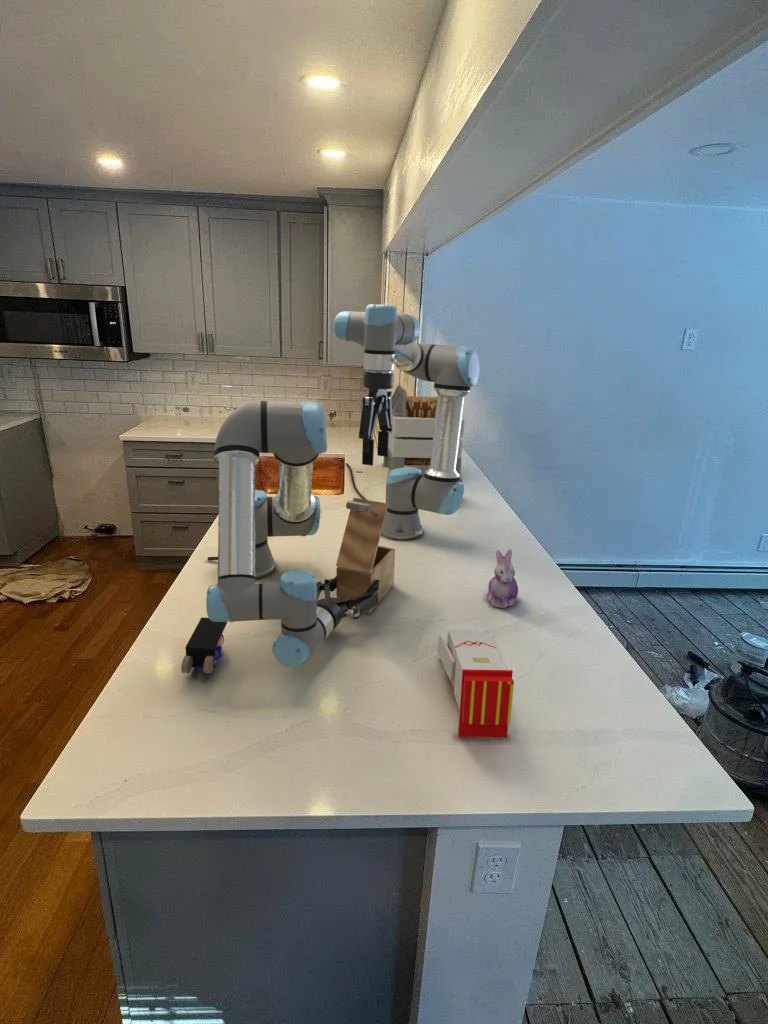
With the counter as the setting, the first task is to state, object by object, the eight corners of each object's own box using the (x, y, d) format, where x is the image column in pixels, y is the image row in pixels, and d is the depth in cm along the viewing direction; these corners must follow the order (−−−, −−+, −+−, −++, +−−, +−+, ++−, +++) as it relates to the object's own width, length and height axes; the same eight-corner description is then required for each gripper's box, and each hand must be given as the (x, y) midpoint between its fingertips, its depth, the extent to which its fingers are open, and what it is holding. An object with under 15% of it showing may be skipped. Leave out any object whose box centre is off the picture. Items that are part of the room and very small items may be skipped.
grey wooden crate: (382, 463, 289) (386, 382, 275) (445, 464, 293) (451, 384, 279) (390, 482, 257) (394, 392, 243) (460, 483, 261) (468, 394, 247)
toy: (488, 613, 130) (523, 677, 101) (484, 667, 133) (517, 744, 104) (435, 612, 130) (455, 676, 101) (432, 666, 133) (451, 743, 103)
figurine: (500, 612, 150) (506, 561, 145) (477, 595, 159) (482, 546, 153) (527, 605, 154) (535, 555, 149) (504, 589, 163) (510, 541, 158)
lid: (354, 498, 150) (343, 489, 142) (388, 504, 147) (378, 495, 139) (337, 566, 146) (324, 561, 139) (371, 574, 143) (360, 568, 135)
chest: (363, 577, 166) (363, 542, 161) (393, 583, 162) (395, 548, 158) (336, 605, 150) (336, 568, 146) (369, 613, 147) (370, 575, 143)
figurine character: (214, 689, 118) (231, 642, 131) (211, 660, 114) (228, 615, 128) (182, 688, 118) (201, 641, 131) (177, 659, 114) (198, 614, 128)
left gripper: (278, 623, 135) (322, 584, 155) (364, 645, 128) (398, 602, 147) (278, 595, 133) (322, 559, 152) (365, 616, 125) (399, 576, 145)
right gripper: (375, 376, 128) (372, 472, 135) (408, 369, 147) (403, 453, 155) (345, 374, 130) (343, 468, 138) (381, 366, 150) (377, 449, 157)
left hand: (359, 580), depth 150 cm, fingers closed on chest, 10 cm apart
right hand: (375, 460), depth 146 cm, fingers open, 9 cm apart
